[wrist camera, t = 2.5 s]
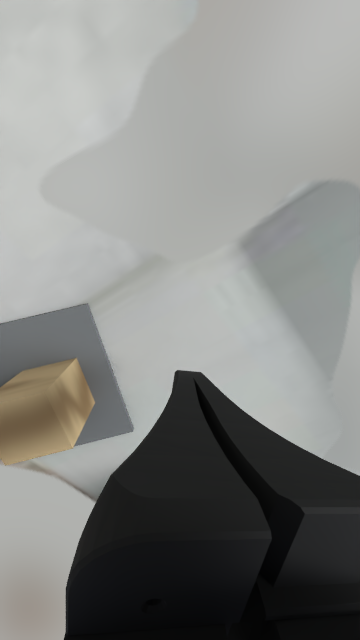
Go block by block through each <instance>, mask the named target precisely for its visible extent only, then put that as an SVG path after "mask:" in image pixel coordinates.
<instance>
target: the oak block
mask: <svg viewBox="0 0 360 640" xmlns="http://www.w3.org/2000/svg"><path fill="white" fill-rule="evenodd" d="M94 404H95V401H94V398H93V396H92V393H91V391H90V389H89V386H88V384H87V382H86V379H85V377H84V374H83V372H82V370H81V367H80V365H79V362H78V360H77V358H74V359H70V360H66V361H61V362H57V363H53V364H49V365H45V366H41V367H37V368H33V369H28V370H24V371H22V372H20V373H19V374H18V375H16V376H15V377H14V378H12V379H11V380H10V381H8V382H7V383H6V384H4V385H3V386H2V387H0V458H1V460H2V461H3V463H4V464H5V466H6V465H9V464H13V463H17V462H21V461H25V460H29V459H33V458H37V457H41V456H45V455H49V454H53V453H57V452H61V451H65V450H69V449H73V447H74V445H75V443H76V441H77V439H78V437H79V435H80V433H81V431H82V429H83V426H84V424H85V422H86V420H87V418H88V416H89V414H90V412H91V410H92V408H93V406H94Z"/></svg>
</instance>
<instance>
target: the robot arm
mask: <svg viewBox="0 0 360 640" xmlns="http://www.w3.org/2000/svg"><path fill="white" fill-rule="evenodd" d="M64 640H360V476H358V475H356V474H354V473H352V472H350V471H347V470H345V469H343V468H341V467H339V466H336V465H334V464H332V463H330V462H328V461H325V460H323V459H321V458H319V457H318V456H316V455H314V454H312V453H310V452H308V451H306V450H304V449H302V448H300V447H298V446H297V445H295V444H293V443H291V442H290V441H288V440H286V439H284V438H283V437H281V436H280V435H278V434H276V433H275V432H273V431H271V430H270V429H268V428H267V427H265V426H264V425H262V424H261V423H259V422H258V421H256V420H255V419H254V418H252V417H251V416H250V415H248V414H247V413H245V412H244V411H243V410H242V409H240V408H239V407H238V406H237V405H236V404H234V403H233V402H232V401H231V400H230V399H229V398H227V397H226V396H225V395H224V394H223V393H222V392H221V391H220V390H219V389H218V388H217V387H216V386H215V385H214V384H213V383H212V382H211V381H210V380H209V379H208V378H207V377H205V376H204V375H203V374H202V373H201V372H192V371H181V370H177V371H176V372H175V376H174V382H173V388H172V393H171V396H170V398H169V400H168V403H167V405H166V407H165V409H164V410H163V412H162V414H161V416H160V417H159V419H158V420H157V422H156V423H155V425H154V426H153V428H152V429H151V431H150V432H149V433H148V435H147V436H146V437H145V438H144V440H143V441H142V442H141V443H140V445H139V446H138V447H137V448H136V450H135V451H134V452H133V453H132V454H131V455H130V456H129V457H128V458H127V459H126V460H125V461H124V462H123V463H122V464H121V465H120V466H119V467H118V468H117V469H116V470H115V471H114V473H113V474H112V475H111V476H110V478H109V480H108V481H107V483H106V485H105V487H104V489H103V490H102V492H101V494H100V496H99V498H98V500H97V502H96V504H95V506H94V508H93V510H92V512H91V514H90V516H89V518H88V521H87V523H86V525H85V528H84V530H83V533H82V535H81V538H80V541H79V543H78V547H77V550H76V554H75V557H74V561H73V564H72V567H71V570H70V574H69V577H68V582H67V586H66V633H65V637H64Z"/></svg>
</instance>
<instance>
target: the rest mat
mask: <svg viewBox="0 0 360 640" xmlns="http://www.w3.org/2000/svg"><path fill="white" fill-rule="evenodd" d="M74 358H77V360H78V362H79V365H80V367H81V370H82V372H83V374H84V377H85V379H86V382H87V384H88V386H89V389H90V391H91V393H92V396H93V398H94V401H95V404H94V406H93V408H92V410H91V412H90V414H89V416H88V418H87V420H86V422H85V424H84V426H83V429H82V431H81V433H80V435H79V437H78V439H77V441H76V443H75V445H74V446H78V445H82V444H85V443H89V442H93V441H97V440H101V439H105V438H109V437H113V436H117V435H121V434H125V433H129V432H133V429H134V428H133V425H132V422H131V420H130V417H129V414H128V412H127V409H126V406H125V403H124V401H123V398H122V395H121V393H120V390H119V387H118V384H117V382H116V379H115V376H114V373H113V371H112V368H111V365H110V363H109V360H108V357H107V354H106V352H105V349H104V346H103V344H102V341H101V338H100V335H99V333H98V330H97V327H96V324H95V322H94V319H93V316H92V314H91V311H90V308H89V305H88V303H87V304H83V305H79V306H75V307H70V308H66V309H62V310H58V311H53V312H49V313H45V314H41V315H36V316H32V317H28V318H24V319H19V320H15V321H11V322H7V323H2V324H0V387H2V386H3V385H4V384H6V383H7V382H8V381H10V380H11V379H12V378H14V377H15V376H16V375H18V374H19V373H20V372H22V371H24V370H28V369H33V368H37V367H41V366H45V365H49V364H53V363H57V362H61V361H66V360H70V359H74Z"/></svg>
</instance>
